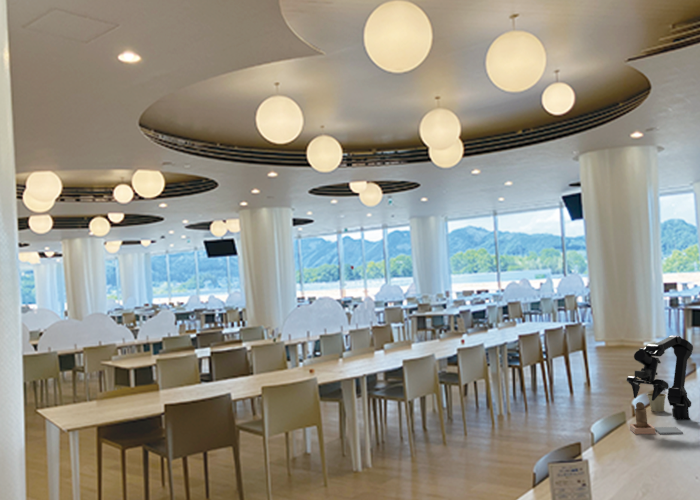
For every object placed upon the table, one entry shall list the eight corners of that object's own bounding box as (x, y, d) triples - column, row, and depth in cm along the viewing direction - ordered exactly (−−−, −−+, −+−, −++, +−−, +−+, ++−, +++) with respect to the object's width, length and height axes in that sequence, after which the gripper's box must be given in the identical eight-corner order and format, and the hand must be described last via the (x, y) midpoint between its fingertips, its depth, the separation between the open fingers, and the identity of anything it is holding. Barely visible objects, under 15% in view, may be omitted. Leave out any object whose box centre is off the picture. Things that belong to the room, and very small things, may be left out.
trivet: (675, 428, 285) (675, 426, 285) (683, 434, 275) (683, 432, 275) (653, 428, 287) (653, 427, 287) (660, 434, 277) (659, 432, 277)
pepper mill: (646, 429, 286) (643, 400, 286) (649, 432, 281) (646, 403, 282) (635, 430, 287) (633, 401, 287) (638, 432, 282) (635, 403, 283)
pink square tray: (649, 428, 287) (649, 423, 287) (655, 433, 279) (655, 428, 279) (629, 429, 289) (629, 423, 289) (635, 433, 280) (634, 428, 280)
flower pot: (663, 408, 326) (661, 392, 326) (670, 412, 316) (669, 395, 317) (645, 409, 326) (643, 393, 327) (652, 413, 317) (650, 396, 318)
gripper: (623, 361, 297) (616, 391, 293) (658, 364, 281) (652, 396, 277) (636, 369, 302) (629, 398, 297) (672, 372, 286) (665, 404, 281)
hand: (643, 399), depth 288 cm, fingers open, 9 cm apart
